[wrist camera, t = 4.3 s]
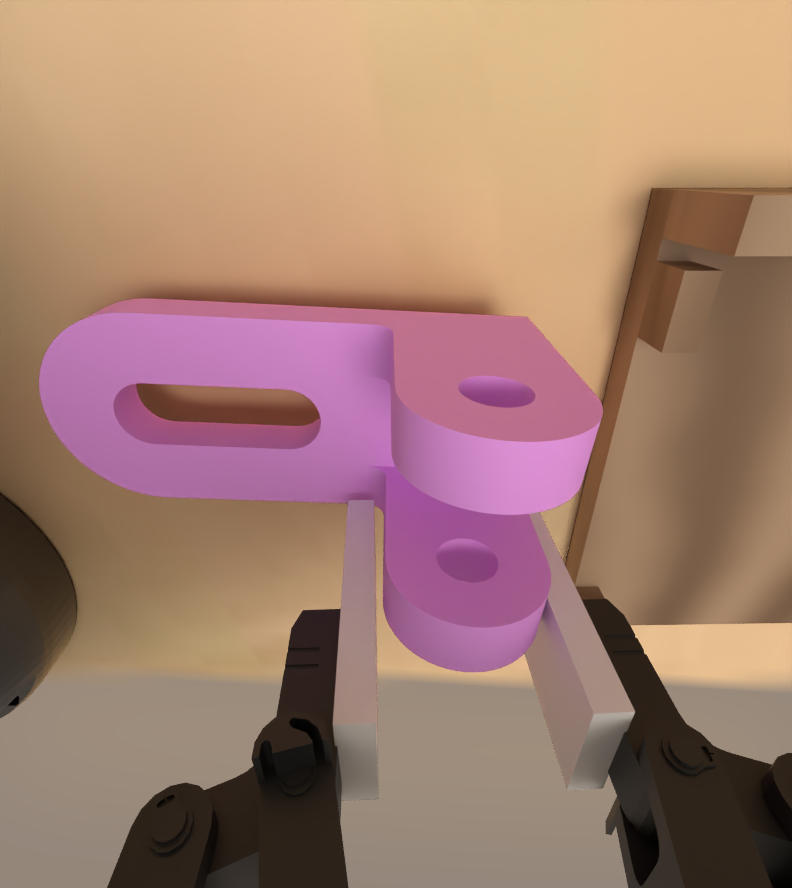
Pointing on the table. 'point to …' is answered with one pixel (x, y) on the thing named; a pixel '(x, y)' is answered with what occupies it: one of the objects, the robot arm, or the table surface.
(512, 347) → the bracket
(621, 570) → the ledge
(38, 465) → the table surface
